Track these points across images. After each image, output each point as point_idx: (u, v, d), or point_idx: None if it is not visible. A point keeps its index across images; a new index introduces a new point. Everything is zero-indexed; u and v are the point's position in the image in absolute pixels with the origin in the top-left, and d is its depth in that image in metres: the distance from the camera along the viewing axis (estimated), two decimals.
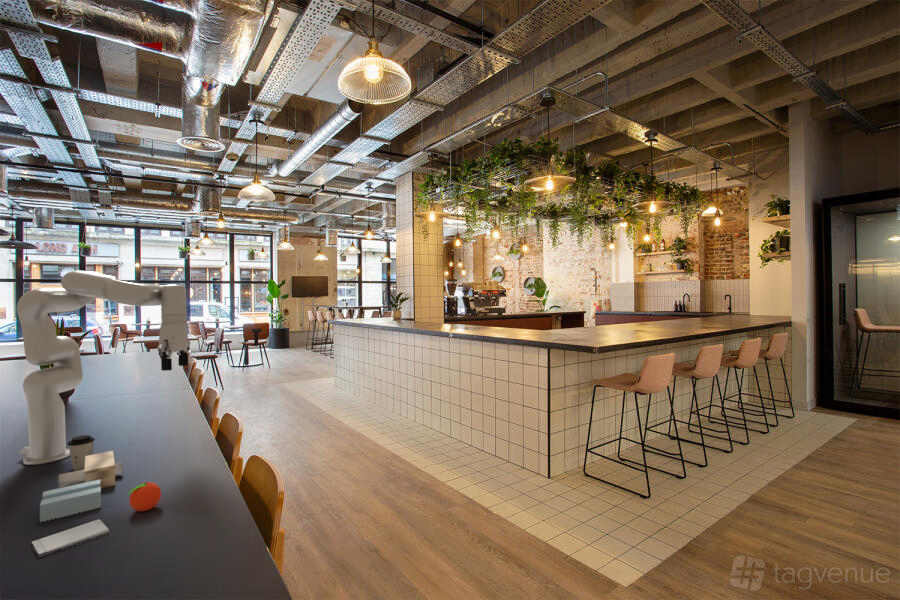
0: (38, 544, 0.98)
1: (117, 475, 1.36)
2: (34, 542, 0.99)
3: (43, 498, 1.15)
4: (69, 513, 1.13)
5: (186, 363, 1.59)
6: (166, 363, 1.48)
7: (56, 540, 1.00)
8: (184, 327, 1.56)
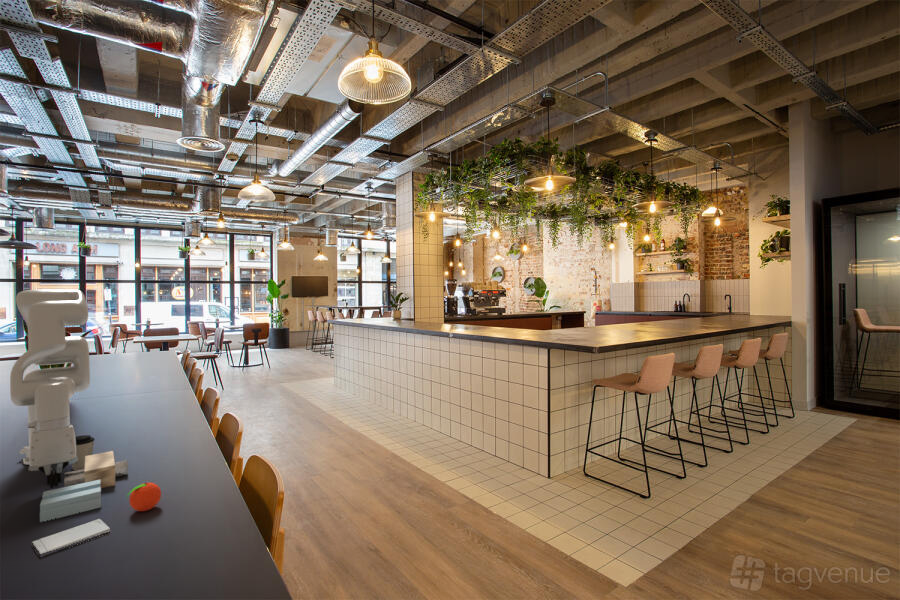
0: (40, 543, 0.98)
1: (122, 474, 1.37)
2: (35, 542, 0.99)
3: (43, 498, 1.15)
4: (69, 513, 1.13)
5: None
6: None
7: (57, 539, 1.00)
8: None
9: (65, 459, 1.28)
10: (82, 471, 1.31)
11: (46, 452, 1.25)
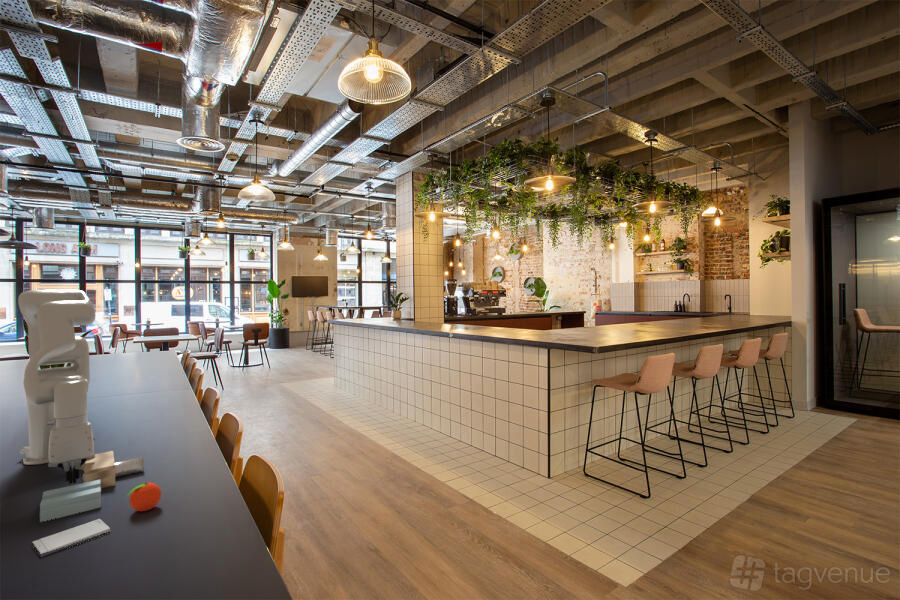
0: (40, 543, 0.98)
1: (138, 471, 1.40)
2: (35, 542, 0.99)
3: (43, 498, 1.15)
4: (69, 513, 1.13)
5: None
6: None
7: (57, 539, 1.00)
8: None
9: (83, 456, 1.30)
10: None
11: (65, 449, 1.28)
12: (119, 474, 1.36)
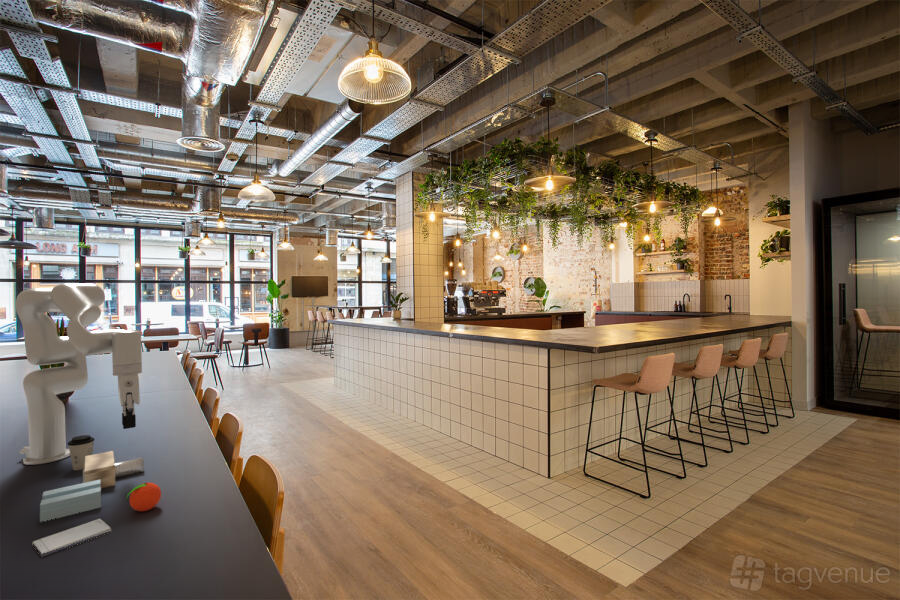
0: (40, 543, 0.98)
1: (138, 471, 1.40)
2: (36, 542, 0.99)
3: (43, 498, 1.15)
4: (69, 513, 1.13)
5: None
6: None
7: (58, 539, 1.00)
8: (118, 380, 1.36)
9: None
10: None
11: None
12: (119, 474, 1.36)
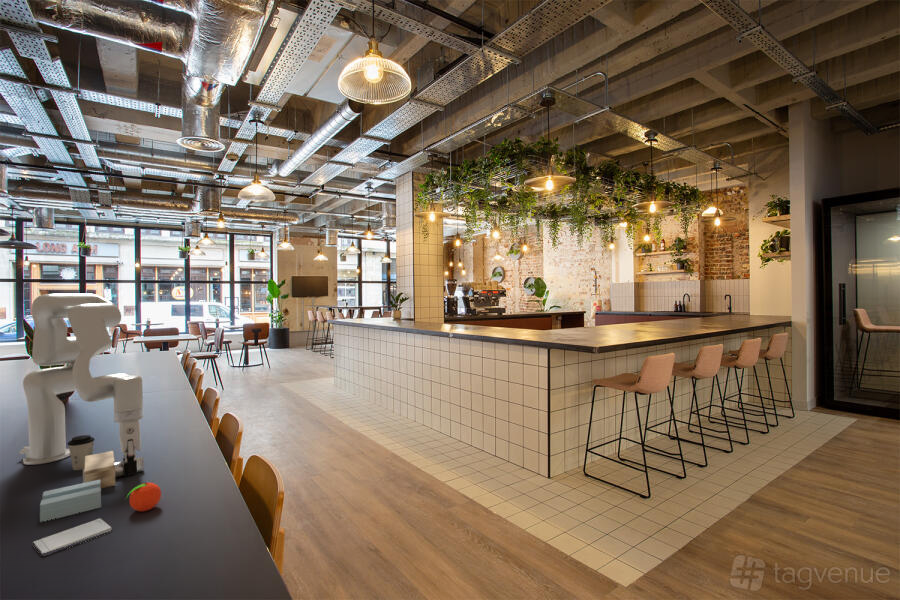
0: (41, 543, 0.98)
1: (138, 470, 1.40)
2: (36, 542, 0.99)
3: (43, 498, 1.15)
4: (69, 513, 1.13)
5: None
6: None
7: (59, 539, 1.00)
8: (119, 427, 1.36)
9: None
10: None
11: None
12: (119, 473, 1.36)
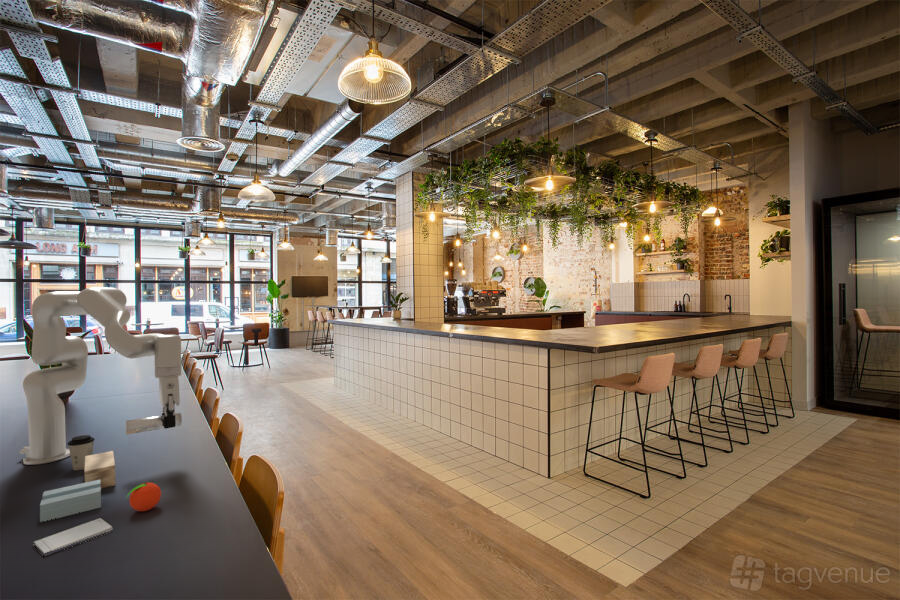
0: (42, 543, 0.98)
1: (176, 424, 1.46)
2: (37, 542, 0.99)
3: (43, 498, 1.15)
4: (69, 513, 1.13)
5: None
6: None
7: (60, 539, 1.00)
8: (160, 382, 1.43)
9: None
10: (141, 419, 1.41)
11: None
12: (159, 426, 1.43)
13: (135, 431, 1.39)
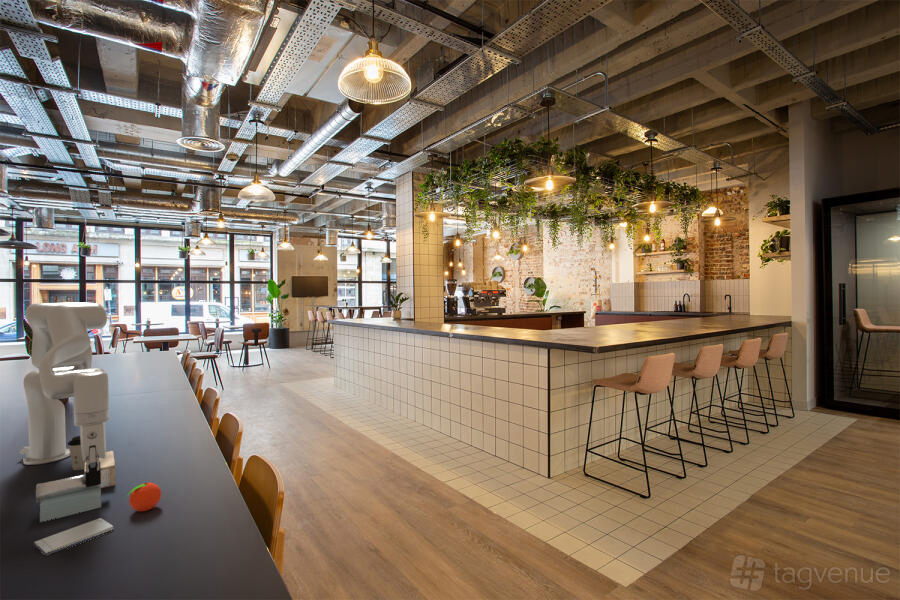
0: (43, 543, 0.98)
1: (103, 485, 1.21)
2: (37, 542, 0.99)
3: None
4: (69, 513, 1.13)
5: None
6: None
7: (61, 539, 1.00)
8: (80, 431, 1.18)
9: None
10: (57, 482, 1.15)
11: (105, 442, 1.21)
12: (80, 489, 1.18)
13: (48, 498, 1.14)
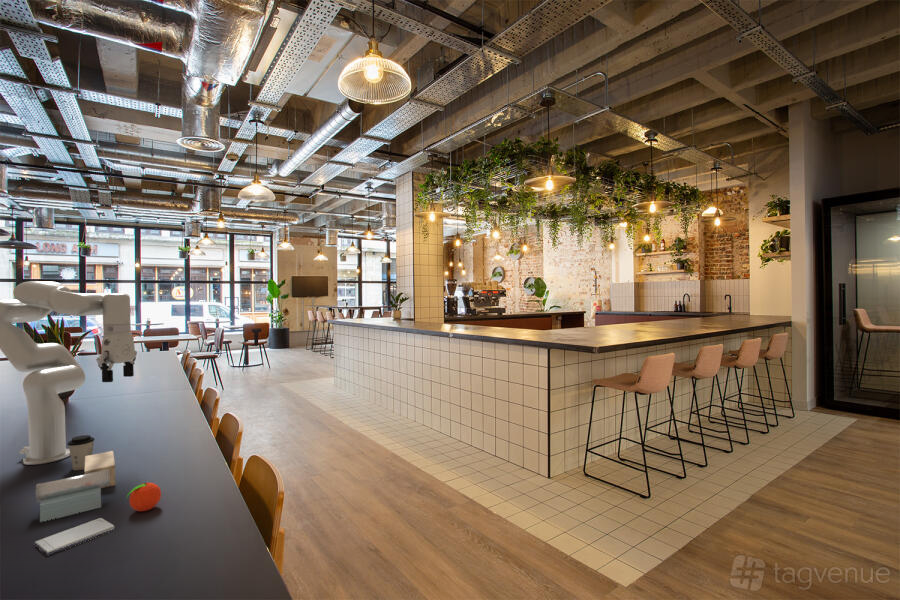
0: (44, 543, 0.99)
1: (103, 485, 1.21)
2: (38, 541, 0.99)
3: None
4: (69, 513, 1.13)
5: None
6: None
7: (62, 538, 1.00)
8: None
9: (131, 358, 1.53)
10: (57, 482, 1.15)
11: (123, 351, 1.49)
12: (80, 490, 1.18)
13: (48, 498, 1.14)
